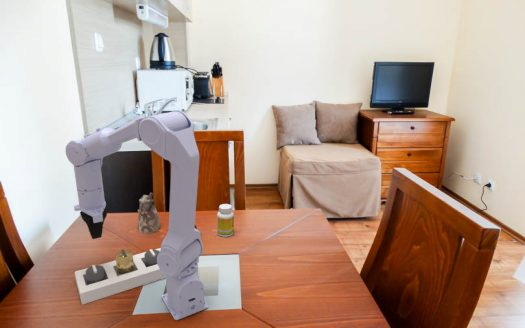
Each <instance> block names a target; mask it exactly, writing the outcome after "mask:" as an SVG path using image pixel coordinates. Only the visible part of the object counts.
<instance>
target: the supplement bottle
mask: <svg viewBox="0 0 525 328" xmlns="http://www.w3.org/2000/svg"><path fill="white" fill-rule="evenodd" d="M232 210H233V206H232V205H231V204H228V203H222V204H220V205H219V206H218V212H217V214H216V229H217V230H216V231H217V232H216V233H217V235H218V236H220V237H223V238H226V237H227V238H228V237H231V236H233V234H234V232H235V231H234V229H235V226H234V225H235V224H234V223H235V219H234V218H235V214H234V211H232Z"/></svg>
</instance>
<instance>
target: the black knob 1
mask: <svg viewBox="0 0 525 328" xmlns="http://www.w3.org/2000/svg"><path fill="white" fill-rule="evenodd" d="M87 268H88V269H87V270H86V279H87V285H90V284H93V283H96V282H100V281H103V280H106V279H105V274H104V267H103V266H100V264H97V265H95V264H92V265H91V266H90V267H87Z"/></svg>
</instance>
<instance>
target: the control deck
mask: <svg viewBox="0 0 525 328" xmlns="http://www.w3.org/2000/svg"><path fill="white" fill-rule="evenodd" d="M154 250H158V251H160V250H161V247H160V248H156V249H154ZM146 252H147V251H144V252H142V253H141V252H140V253H137V254H134V255H133V263H134V270H133V271H132V272H130V273H126V274H119V273H118V272H117V265H116V259H115V260H113V261H112V260H111V261H109V262H104V263H101V264H99V265H100V266H103V267H104V274H105V280H103V281H100V282H96V283H93V284H90V285H87V279H86V270H87V269H88V268H89V267H86V268H83V269H79V270H75V271H74V276H75V277H74V278H75V283H76V287H77V290H78V295H79V298H80V301H81V302H80V303H81V305H86V304H89V303H92V302H95V301H98V300H101V299H104V298H108V297H111V296H113V295H116V294H119V293H122V292H126V291H128V290H132V289H135V288H137V287H141V286H144V285H148V284H151V283H153V282H156V281H159V280H162V279H166V275H165V274H164V273H163V272H162V271H161V270H160V268H159V266H158V264H156V265H153V266H150V267H146V266H145V253H146Z"/></svg>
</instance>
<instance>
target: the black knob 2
mask: <svg viewBox="0 0 525 328" xmlns="http://www.w3.org/2000/svg"><path fill="white" fill-rule="evenodd" d="M145 252H146V253H145V266H146V267H150V266H153V265H156V264H157V256H158V254H159V252H160V251H158V250H155V249H152V248H151V249H149V250H147V251H145Z"/></svg>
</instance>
